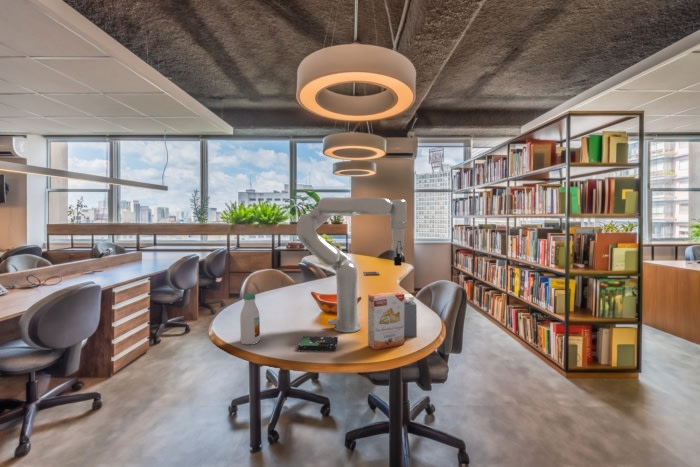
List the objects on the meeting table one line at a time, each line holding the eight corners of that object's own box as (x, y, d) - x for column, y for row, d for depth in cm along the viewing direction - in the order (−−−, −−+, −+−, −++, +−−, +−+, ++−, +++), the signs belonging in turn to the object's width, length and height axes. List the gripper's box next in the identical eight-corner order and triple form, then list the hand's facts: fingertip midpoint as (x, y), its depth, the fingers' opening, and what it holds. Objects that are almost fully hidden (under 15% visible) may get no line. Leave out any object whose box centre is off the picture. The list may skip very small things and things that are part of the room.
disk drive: (337, 343, 132) (302, 342, 133) (337, 336, 132) (302, 335, 133) (335, 353, 121) (297, 352, 122) (335, 345, 121) (297, 345, 122)
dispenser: (398, 336, 136) (398, 304, 136) (395, 330, 144) (395, 300, 144) (416, 336, 136) (416, 304, 136) (412, 330, 144) (412, 300, 144)
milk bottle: (249, 346, 127) (248, 297, 127) (236, 343, 131) (235, 295, 131) (263, 340, 134) (262, 293, 133) (251, 337, 138) (250, 292, 137)
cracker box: (374, 350, 122) (374, 297, 121) (367, 345, 127) (367, 294, 127) (405, 344, 127) (404, 293, 127) (397, 339, 133) (396, 290, 132)
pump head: (401, 328, 134) (401, 299, 134) (397, 321, 143) (397, 294, 143) (415, 327, 134) (415, 298, 134) (410, 321, 143) (410, 294, 143)
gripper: (388, 226, 154) (388, 263, 155) (391, 226, 139) (390, 267, 140) (404, 226, 154) (403, 263, 154) (408, 226, 139) (407, 267, 140)
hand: (397, 265), depth 147 cm, fingers closed
